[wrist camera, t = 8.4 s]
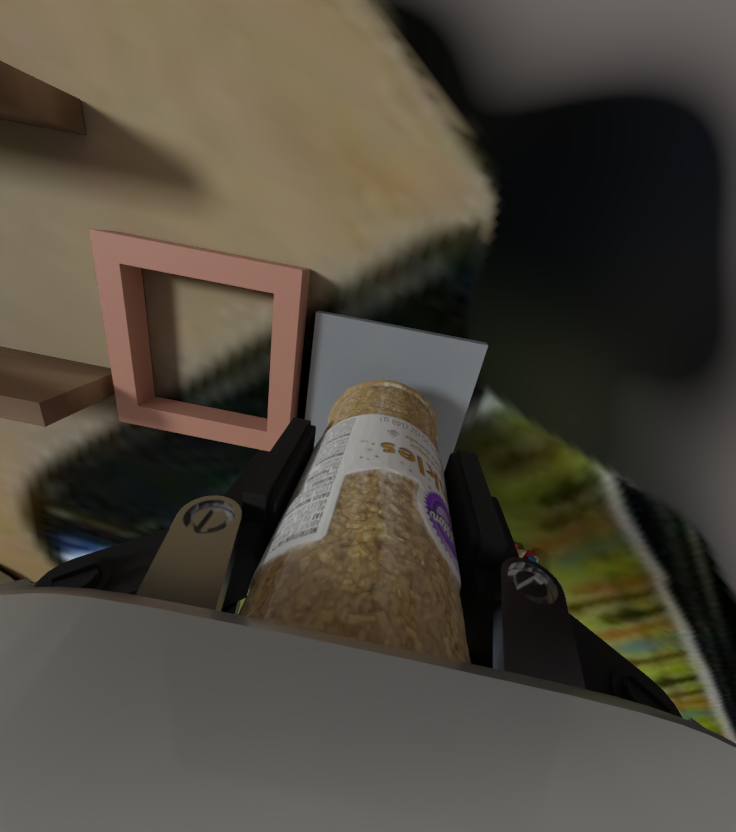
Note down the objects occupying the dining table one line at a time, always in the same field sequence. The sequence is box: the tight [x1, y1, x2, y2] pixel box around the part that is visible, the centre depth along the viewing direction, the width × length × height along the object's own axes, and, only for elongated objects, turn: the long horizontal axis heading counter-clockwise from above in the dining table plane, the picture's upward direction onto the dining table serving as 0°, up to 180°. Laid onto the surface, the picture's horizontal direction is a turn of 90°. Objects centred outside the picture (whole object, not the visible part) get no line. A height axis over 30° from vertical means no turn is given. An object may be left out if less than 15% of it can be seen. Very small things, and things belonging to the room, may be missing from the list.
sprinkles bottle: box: [238, 379, 471, 664], centre depth 8 cm, size 5×5×14 cm
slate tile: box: [305, 310, 488, 471], centre depth 16 cm, size 8×7×1 cm
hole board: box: [89, 229, 310, 451], centre depth 15 cm, size 8×8×1 cm
